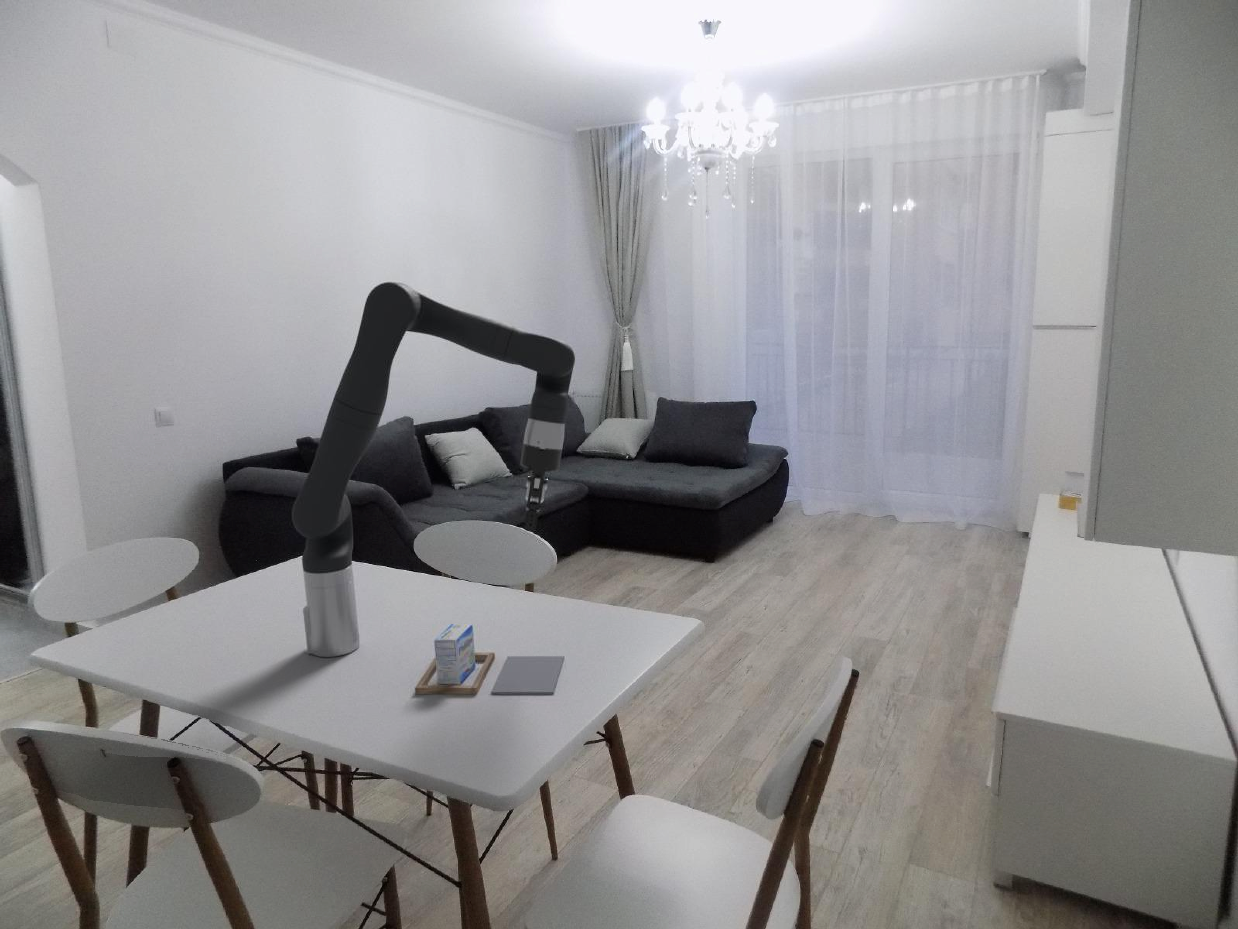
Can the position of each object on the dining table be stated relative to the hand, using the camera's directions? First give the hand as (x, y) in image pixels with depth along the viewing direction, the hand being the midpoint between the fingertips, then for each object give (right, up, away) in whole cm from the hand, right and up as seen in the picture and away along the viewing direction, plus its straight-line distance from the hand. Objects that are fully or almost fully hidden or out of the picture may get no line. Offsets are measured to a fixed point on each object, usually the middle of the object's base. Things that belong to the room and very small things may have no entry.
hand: (530, 526), depth 160 cm
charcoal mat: (+1, -27, -9) cm, 28 cm away
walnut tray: (-13, -27, -8) cm, 31 cm away
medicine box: (-13, -27, -8) cm, 31 cm away
